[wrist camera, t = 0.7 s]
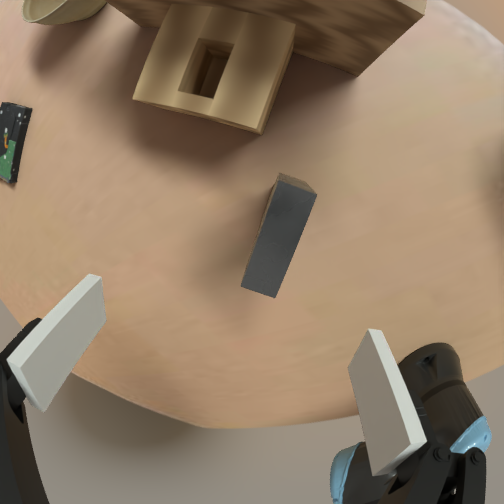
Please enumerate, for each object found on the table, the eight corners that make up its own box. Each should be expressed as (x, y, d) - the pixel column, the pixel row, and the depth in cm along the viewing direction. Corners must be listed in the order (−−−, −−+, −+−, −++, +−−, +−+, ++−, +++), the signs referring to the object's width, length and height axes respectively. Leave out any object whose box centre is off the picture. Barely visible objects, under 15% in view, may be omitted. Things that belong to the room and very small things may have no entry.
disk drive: (10, 102, 34) (-4, 169, 39) (1, 101, 32) (-13, 171, 37) (35, 108, 35) (18, 182, 40) (25, 107, 32) (9, 184, 37)
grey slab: (301, 177, 35) (317, 194, 20) (277, 241, 38) (275, 298, 23) (279, 169, 35) (278, 180, 20) (256, 233, 38) (240, 286, 23)
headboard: (363, 59, 29) (428, -9, 10) (329, 159, 34) (382, 166, 15) (148, 11, 28) (74, -48, 9) (112, 99, 33) (10, 82, 15)
